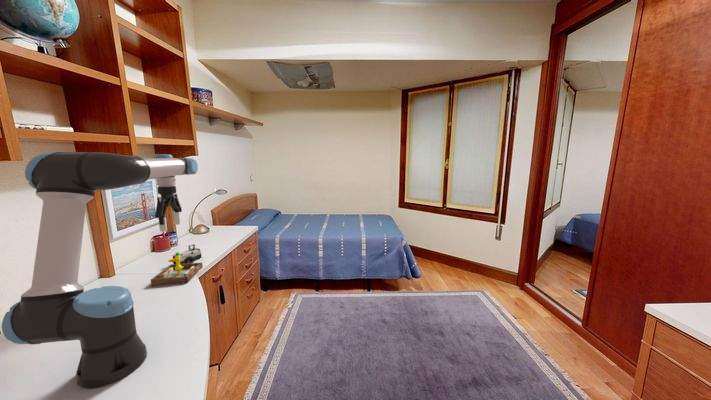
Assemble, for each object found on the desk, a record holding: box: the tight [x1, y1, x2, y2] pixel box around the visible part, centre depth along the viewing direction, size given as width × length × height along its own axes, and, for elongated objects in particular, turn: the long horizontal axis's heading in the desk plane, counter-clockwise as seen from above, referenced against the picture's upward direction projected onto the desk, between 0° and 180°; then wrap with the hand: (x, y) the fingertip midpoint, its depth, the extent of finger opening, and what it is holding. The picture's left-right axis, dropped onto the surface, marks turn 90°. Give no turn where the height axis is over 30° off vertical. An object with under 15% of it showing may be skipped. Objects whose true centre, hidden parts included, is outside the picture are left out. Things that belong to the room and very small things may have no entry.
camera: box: [172, 243, 202, 264], centre depth 154 cm, size 15×8×10 cm, turn 159°
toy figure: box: [167, 251, 184, 276], centre depth 134 cm, size 7×4×12 cm, turn 109°
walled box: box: [150, 262, 204, 288], centre depth 135 cm, size 19×16×4 cm
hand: (170, 227), depth 131 cm, fingers open, 13 cm apart
